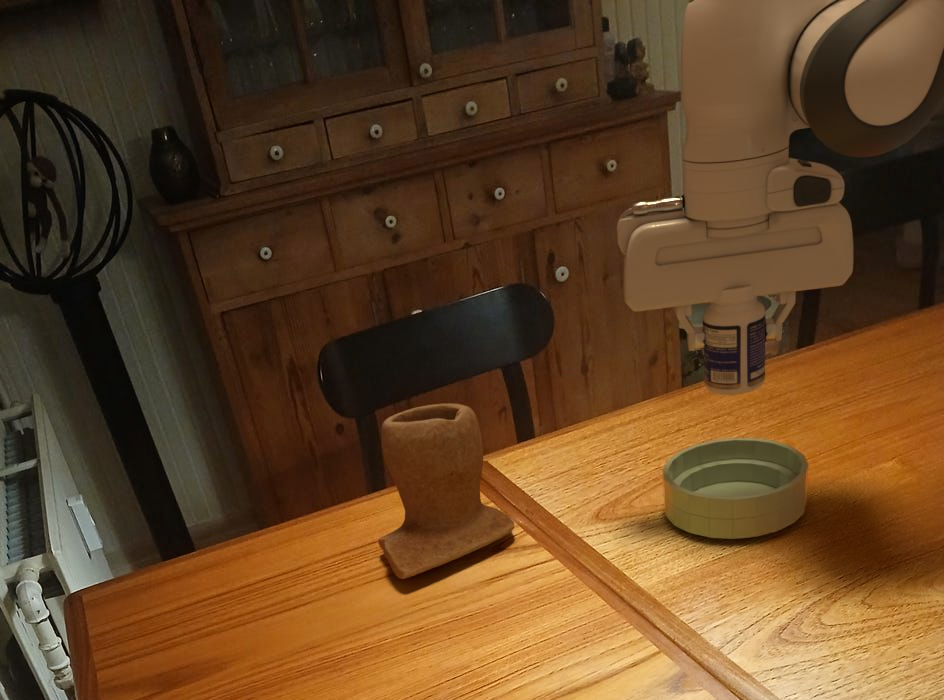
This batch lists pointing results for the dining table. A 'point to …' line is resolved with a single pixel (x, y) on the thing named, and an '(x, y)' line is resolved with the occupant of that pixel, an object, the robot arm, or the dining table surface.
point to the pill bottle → (734, 342)
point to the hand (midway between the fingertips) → (734, 344)
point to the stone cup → (437, 488)
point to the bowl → (735, 487)
